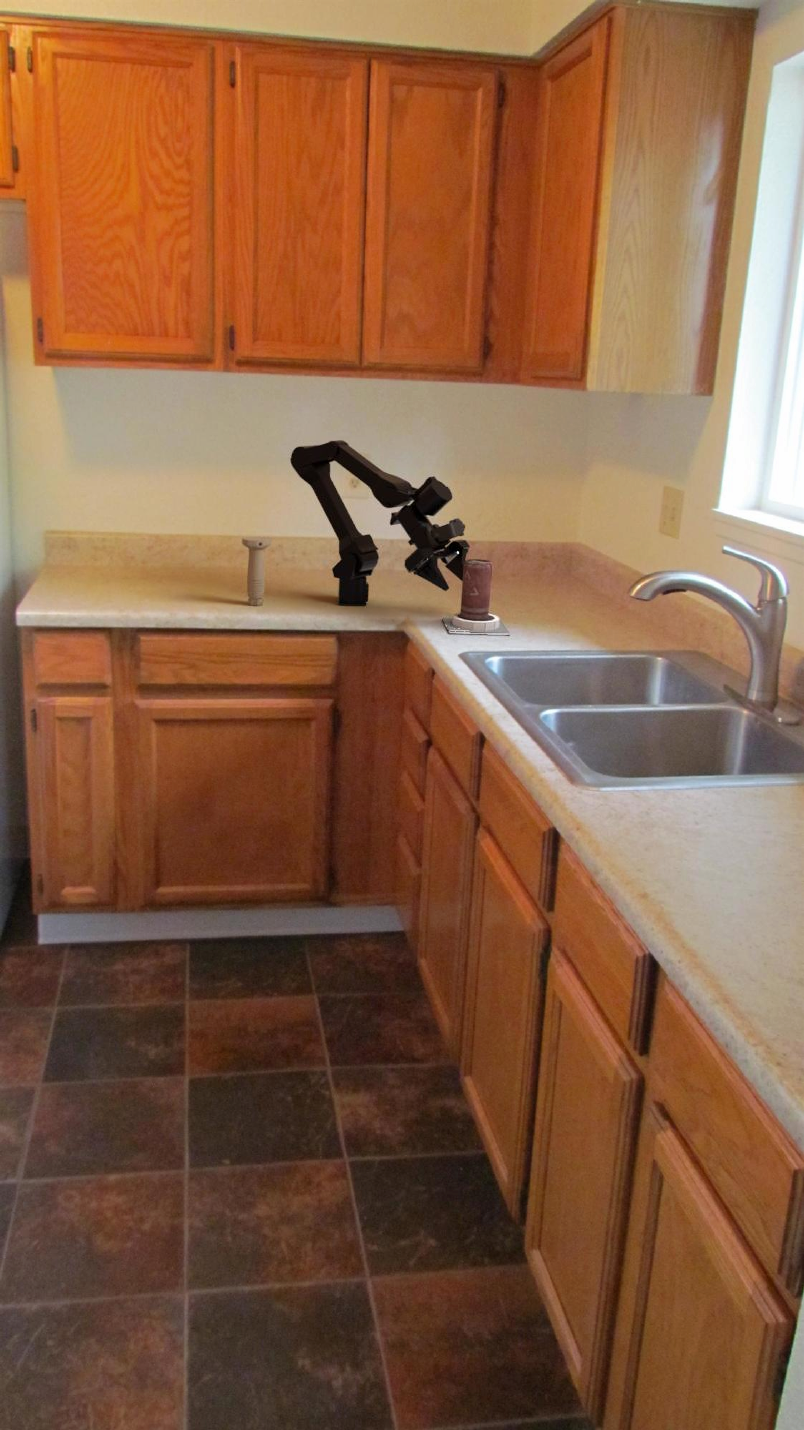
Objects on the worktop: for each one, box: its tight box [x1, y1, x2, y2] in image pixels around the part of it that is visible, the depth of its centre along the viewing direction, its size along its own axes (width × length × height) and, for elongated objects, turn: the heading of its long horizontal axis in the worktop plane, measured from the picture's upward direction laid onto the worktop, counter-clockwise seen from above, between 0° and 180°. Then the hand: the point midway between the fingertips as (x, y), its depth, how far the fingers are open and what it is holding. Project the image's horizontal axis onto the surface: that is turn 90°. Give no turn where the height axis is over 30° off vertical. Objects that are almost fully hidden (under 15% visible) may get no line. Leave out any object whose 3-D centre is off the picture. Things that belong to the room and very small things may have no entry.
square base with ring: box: [441, 611, 510, 633], centre depth 262 cm, size 13×13×2 cm
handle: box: [241, 536, 272, 607], centre depth 271 cm, size 5×6×15 cm
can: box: [460, 558, 494, 621], centre depth 261 cm, size 6×6×14 cm
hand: (458, 586), depth 263 cm, fingers open, 9 cm apart
